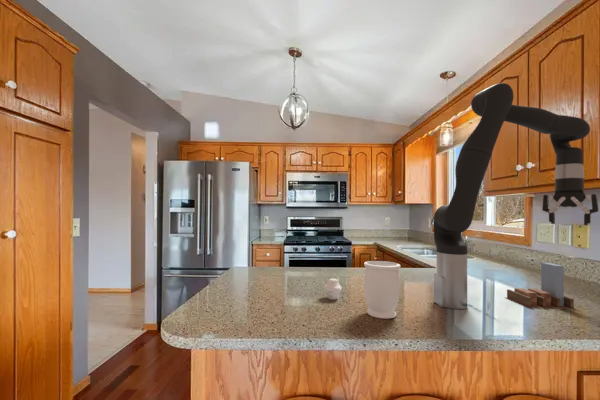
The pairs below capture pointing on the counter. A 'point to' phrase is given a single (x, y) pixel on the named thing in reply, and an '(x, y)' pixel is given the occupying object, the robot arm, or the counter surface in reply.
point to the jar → (382, 288)
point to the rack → (539, 301)
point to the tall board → (553, 280)
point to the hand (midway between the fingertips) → (569, 224)
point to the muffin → (332, 289)
